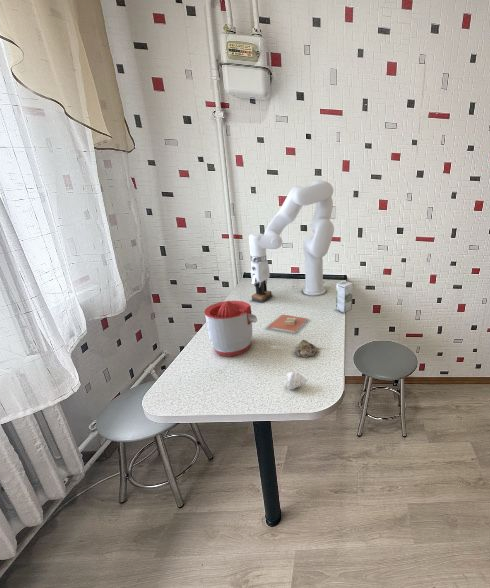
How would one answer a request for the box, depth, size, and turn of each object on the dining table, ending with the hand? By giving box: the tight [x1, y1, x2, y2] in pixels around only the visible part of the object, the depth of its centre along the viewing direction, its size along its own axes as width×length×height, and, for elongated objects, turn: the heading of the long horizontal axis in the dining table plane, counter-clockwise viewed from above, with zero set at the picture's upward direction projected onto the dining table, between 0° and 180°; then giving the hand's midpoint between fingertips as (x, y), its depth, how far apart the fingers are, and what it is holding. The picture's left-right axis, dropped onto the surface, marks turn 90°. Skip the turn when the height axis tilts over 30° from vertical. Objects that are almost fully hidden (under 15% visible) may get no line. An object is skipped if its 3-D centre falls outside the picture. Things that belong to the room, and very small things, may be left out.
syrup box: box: [335, 280, 354, 314], centre depth 162 cm, size 6×6×14 cm
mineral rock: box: [295, 339, 318, 358], centre depth 127 cm, size 11×4×8 cm
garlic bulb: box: [286, 371, 308, 390], centre depth 106 cm, size 6×6×5 cm
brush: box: [251, 282, 273, 304], centre depth 171 cm, size 9×6×9 cm, turn 167°
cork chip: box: [285, 318, 296, 325], centre depth 147 cm, size 4×4×2 cm
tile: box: [267, 314, 309, 332], centre depth 147 cm, size 13×13×1 cm
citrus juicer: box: [203, 300, 258, 357], centre depth 123 cm, size 16×17×20 cm
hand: (261, 292), depth 172 cm, fingers open, 3 cm apart
